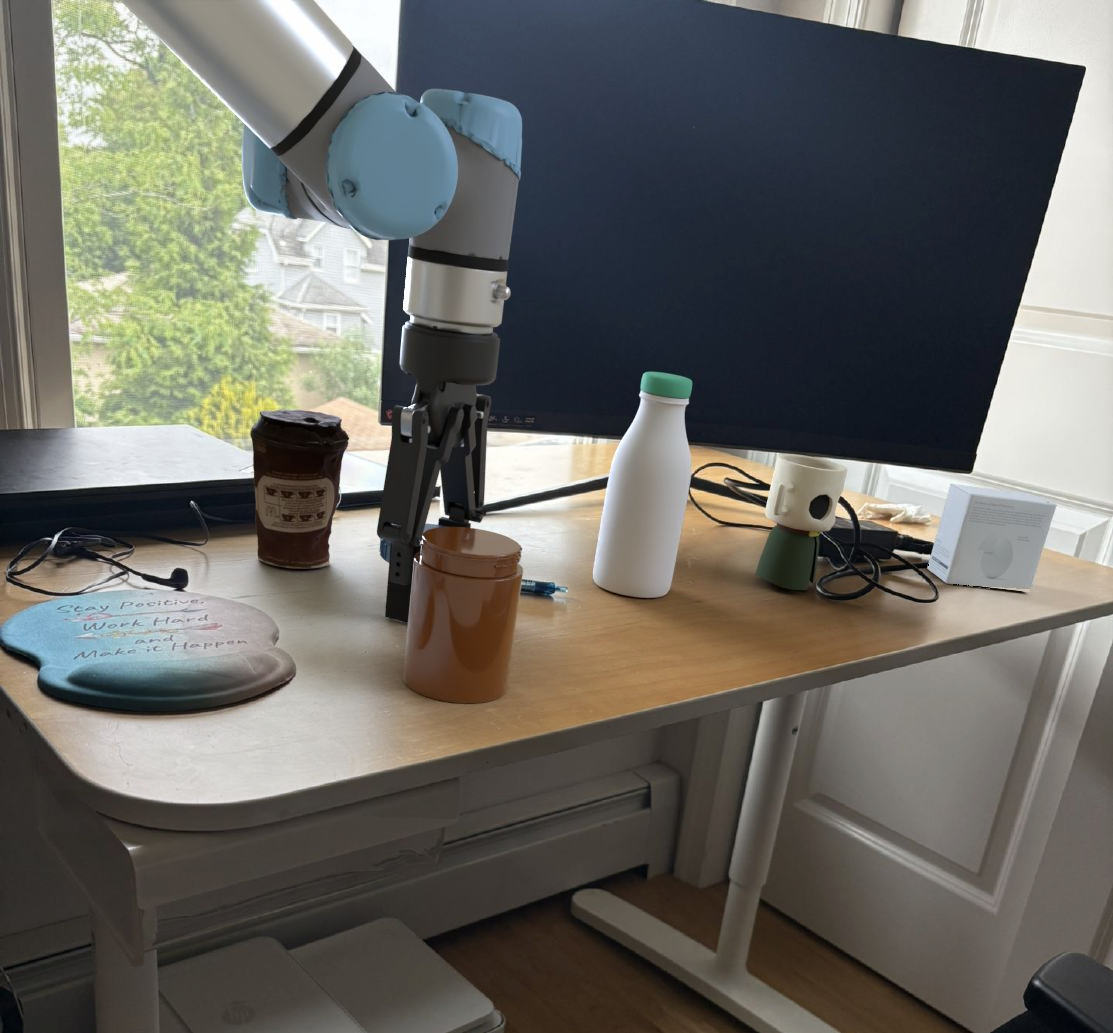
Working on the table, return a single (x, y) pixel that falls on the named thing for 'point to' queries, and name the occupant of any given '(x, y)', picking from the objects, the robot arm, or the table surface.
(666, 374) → the milk bottle
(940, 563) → the cosmetics box
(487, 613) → the jar
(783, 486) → the character mug
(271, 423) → the coffee cup
